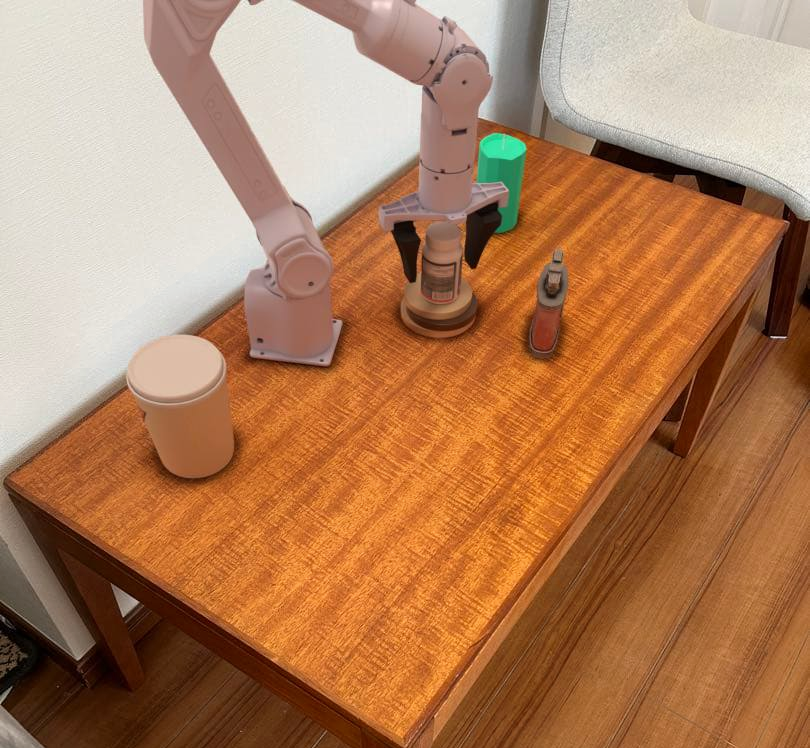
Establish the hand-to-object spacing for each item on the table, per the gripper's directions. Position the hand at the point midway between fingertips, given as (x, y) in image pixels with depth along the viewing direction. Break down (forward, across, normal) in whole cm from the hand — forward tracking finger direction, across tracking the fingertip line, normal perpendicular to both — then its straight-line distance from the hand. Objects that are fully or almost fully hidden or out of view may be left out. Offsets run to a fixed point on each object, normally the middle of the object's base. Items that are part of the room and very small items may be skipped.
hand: (440, 271), depth 99 cm
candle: (+6, +15, +16) cm, 22 cm away
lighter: (+6, +10, -8) cm, 15 cm away
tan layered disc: (+6, 0, 0) cm, 6 cm away
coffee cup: (+6, -32, -12) cm, 35 cm away
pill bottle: (+3, 0, 0) cm, 3 cm away
